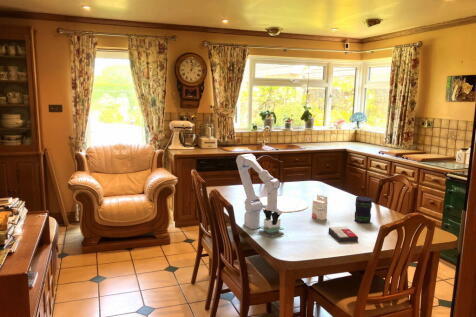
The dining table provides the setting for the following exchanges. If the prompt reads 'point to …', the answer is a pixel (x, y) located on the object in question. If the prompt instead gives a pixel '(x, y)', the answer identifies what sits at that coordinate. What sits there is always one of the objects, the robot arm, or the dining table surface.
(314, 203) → the ink cartridge box
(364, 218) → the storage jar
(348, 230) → the calculator
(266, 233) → the stand
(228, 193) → the dining table surface
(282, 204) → the lazy susan
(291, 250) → the dining table surface
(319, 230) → the dining table surface
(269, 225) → the block
